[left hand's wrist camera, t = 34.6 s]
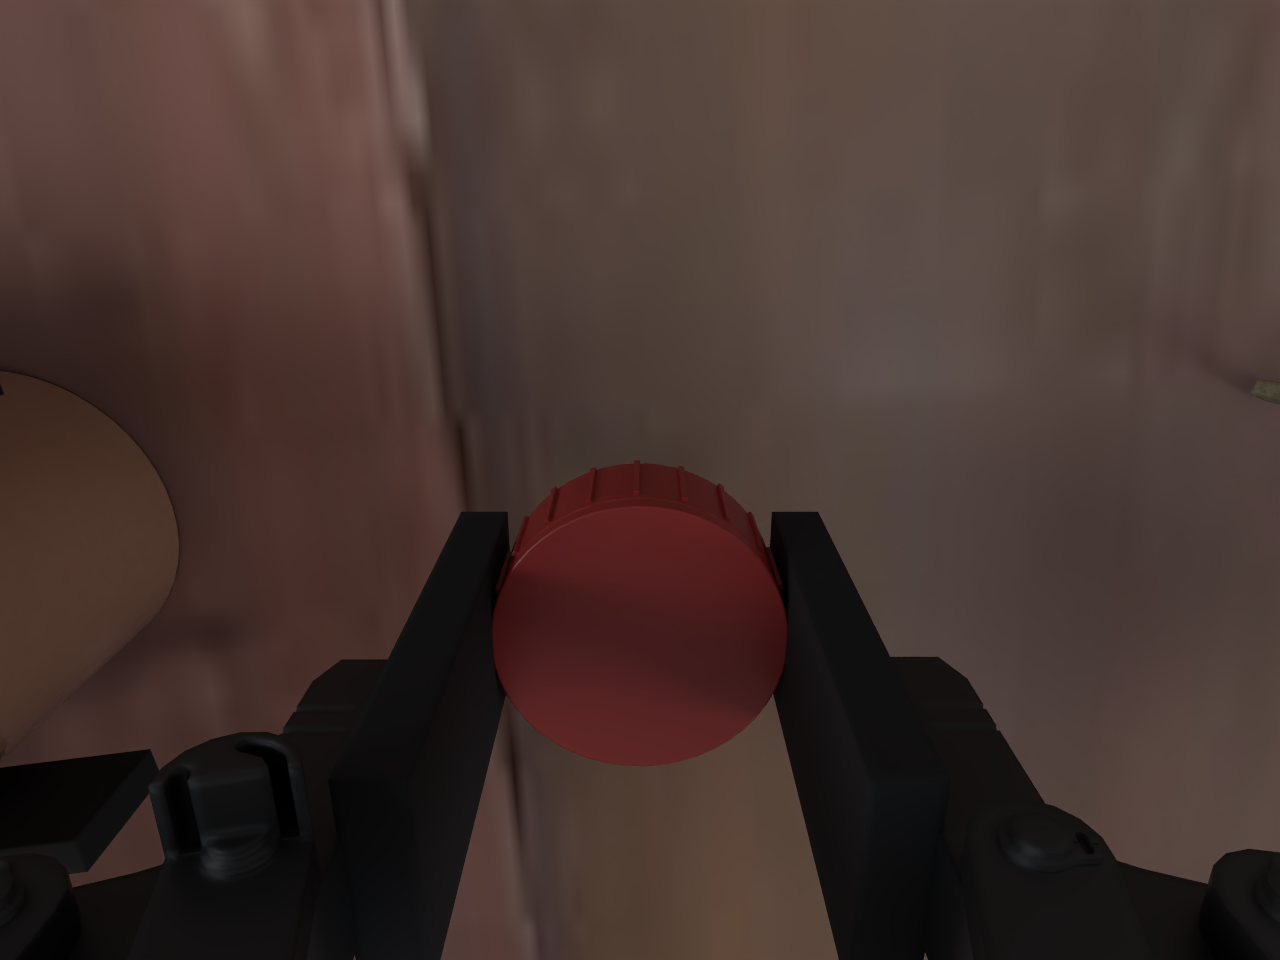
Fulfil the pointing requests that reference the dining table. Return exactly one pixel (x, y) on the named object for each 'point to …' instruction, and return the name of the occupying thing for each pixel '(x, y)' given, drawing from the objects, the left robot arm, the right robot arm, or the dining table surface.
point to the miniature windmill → (1267, 391)
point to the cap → (639, 616)
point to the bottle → (71, 548)
